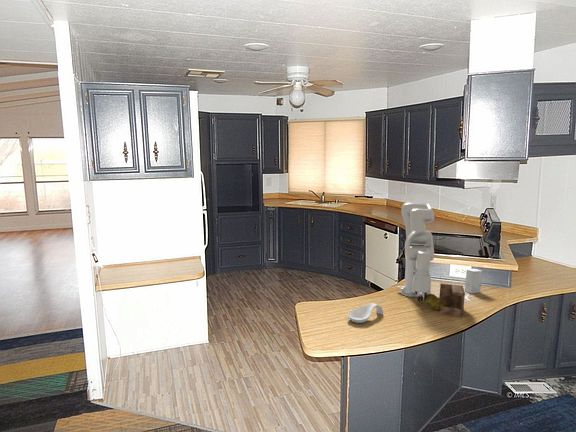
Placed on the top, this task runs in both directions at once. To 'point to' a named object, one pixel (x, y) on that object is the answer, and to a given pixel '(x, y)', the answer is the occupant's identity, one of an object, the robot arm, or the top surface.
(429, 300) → the potato
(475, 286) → the skincare box
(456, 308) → the cubby
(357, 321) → the spoon rest
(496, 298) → the top surface
